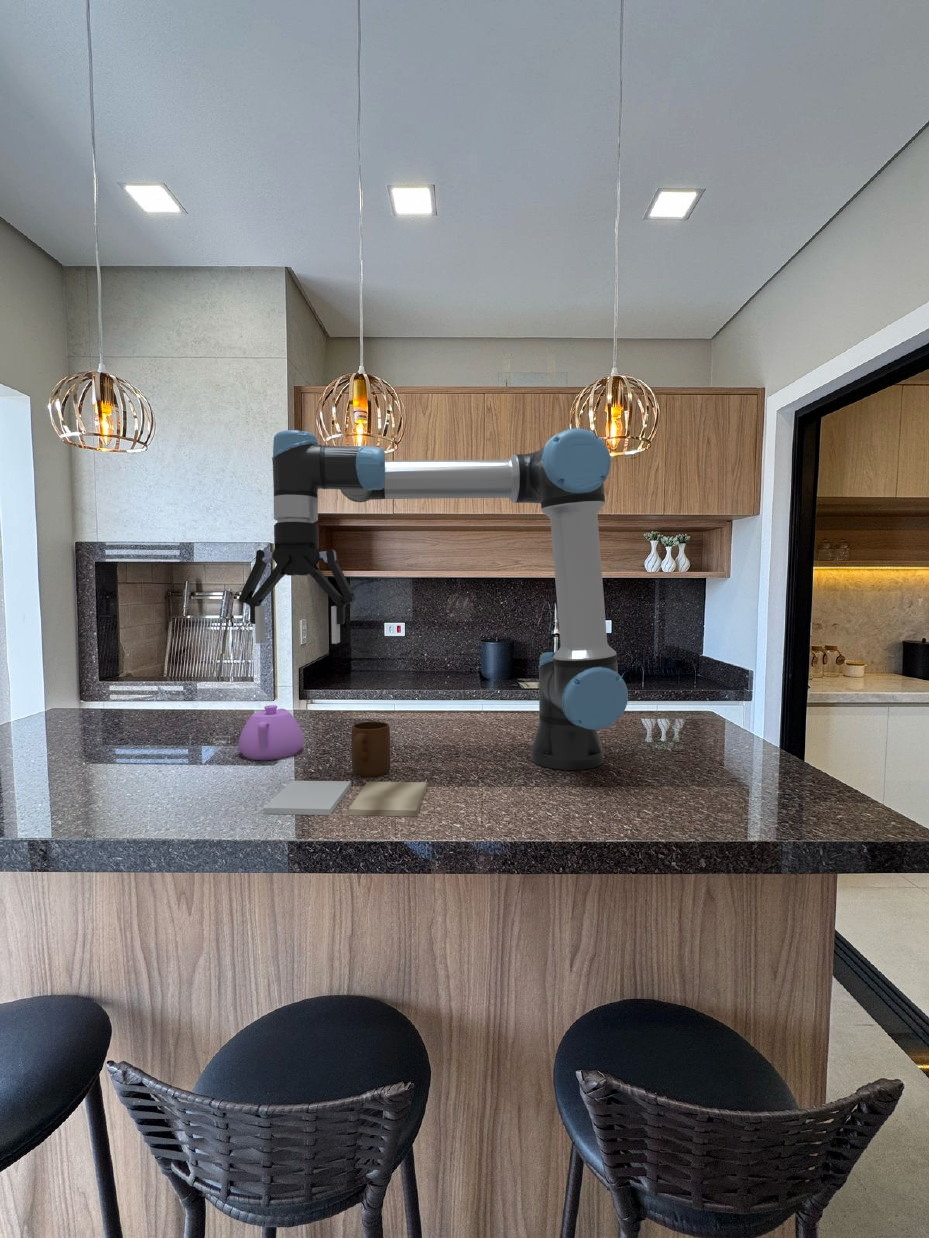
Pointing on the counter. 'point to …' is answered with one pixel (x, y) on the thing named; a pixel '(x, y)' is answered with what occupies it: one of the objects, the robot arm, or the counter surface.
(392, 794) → the tile oak
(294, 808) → the tile grey
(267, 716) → the teapot
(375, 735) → the mug
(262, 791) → the counter surface
